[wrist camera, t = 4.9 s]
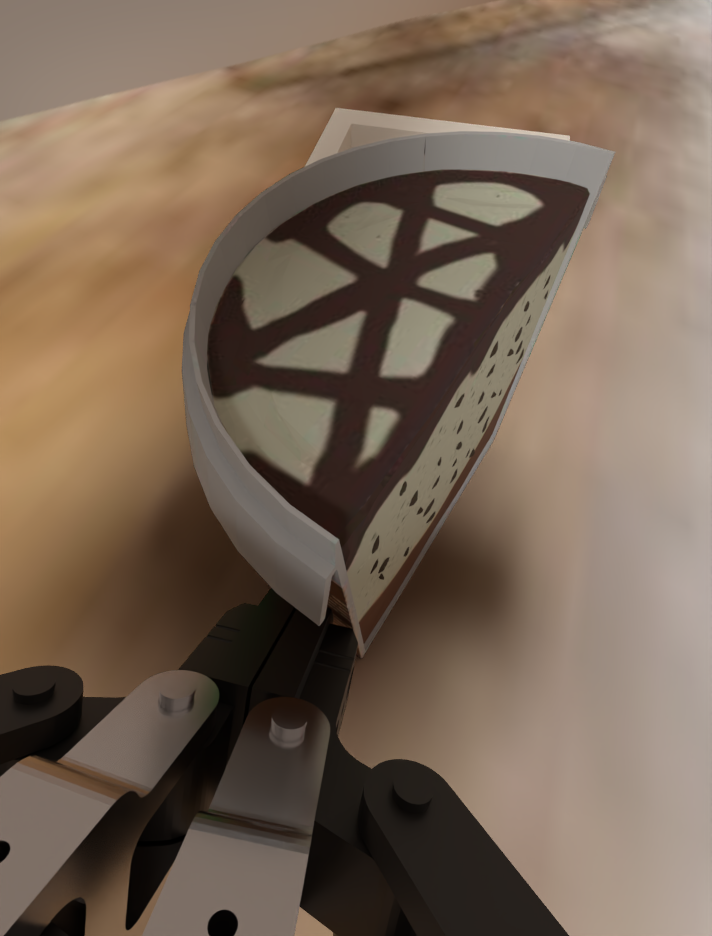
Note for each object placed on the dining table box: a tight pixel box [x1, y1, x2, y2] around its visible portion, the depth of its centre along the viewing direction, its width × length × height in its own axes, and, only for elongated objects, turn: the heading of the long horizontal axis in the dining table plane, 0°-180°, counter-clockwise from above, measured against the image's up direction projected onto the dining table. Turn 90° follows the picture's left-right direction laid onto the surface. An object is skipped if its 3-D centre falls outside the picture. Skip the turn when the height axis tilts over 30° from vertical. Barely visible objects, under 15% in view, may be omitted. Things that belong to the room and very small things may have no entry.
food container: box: [182, 131, 615, 659], centre depth 14 cm, size 12×6×10 cm, turn 148°
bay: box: [305, 108, 570, 166], centre depth 26 cm, size 12×10×2 cm
